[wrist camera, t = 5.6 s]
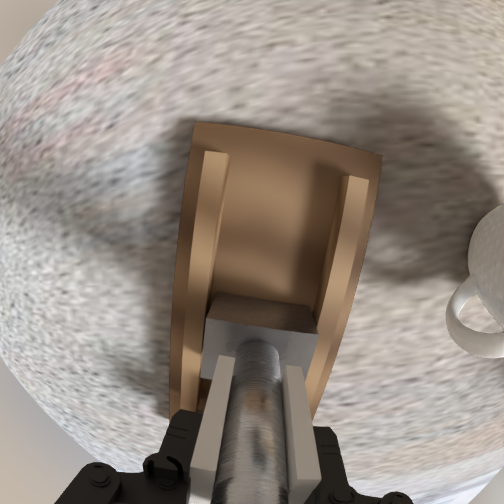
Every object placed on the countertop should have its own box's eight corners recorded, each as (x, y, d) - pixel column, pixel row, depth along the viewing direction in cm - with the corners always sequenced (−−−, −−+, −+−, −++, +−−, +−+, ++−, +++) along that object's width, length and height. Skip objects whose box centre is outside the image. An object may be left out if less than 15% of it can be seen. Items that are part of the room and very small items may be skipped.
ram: (217, 291, 19) (94, 598, 1) (308, 306, 19) (397, 609, 1) (211, 344, 20) (129, 608, 2) (295, 356, 20) (330, 623, 2)
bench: (201, 127, 19) (164, 93, 11) (371, 158, 19) (430, 144, 11) (174, 422, 24) (152, 483, 17) (296, 439, 24) (302, 503, 17)
